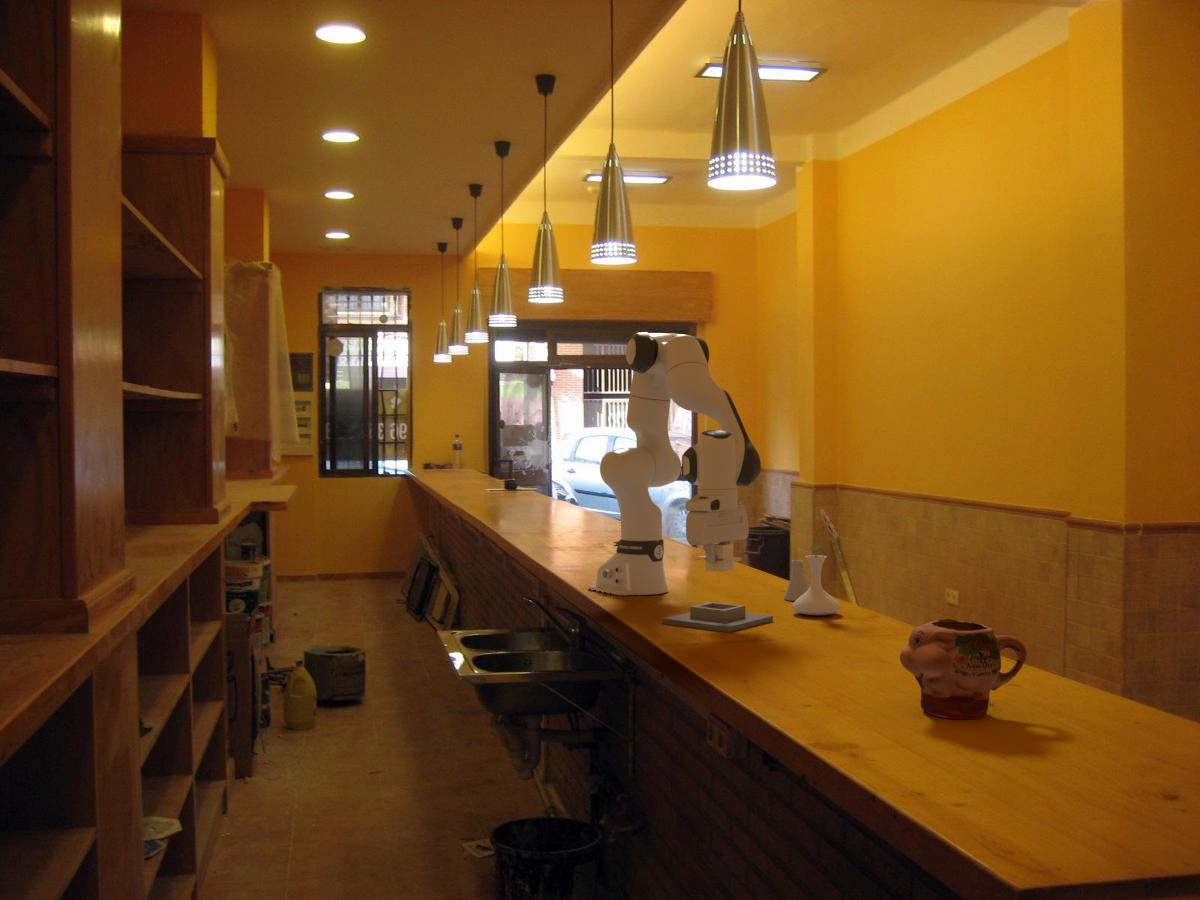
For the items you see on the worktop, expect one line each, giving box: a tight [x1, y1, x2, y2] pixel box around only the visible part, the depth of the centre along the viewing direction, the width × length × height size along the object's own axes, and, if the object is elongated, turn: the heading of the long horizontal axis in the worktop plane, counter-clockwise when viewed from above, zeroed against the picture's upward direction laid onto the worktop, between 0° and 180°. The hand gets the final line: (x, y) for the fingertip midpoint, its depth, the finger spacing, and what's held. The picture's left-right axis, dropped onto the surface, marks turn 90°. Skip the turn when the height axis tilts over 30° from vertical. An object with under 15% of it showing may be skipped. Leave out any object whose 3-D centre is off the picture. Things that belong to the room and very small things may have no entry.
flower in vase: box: [791, 508, 841, 616], centre depth 270 cm, size 13×11×25 cm
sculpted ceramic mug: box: [899, 618, 1027, 720], centre depth 179 cm, size 20×12×14 cm, turn 99°
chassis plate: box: [662, 601, 774, 634], centre depth 260 cm, size 18×18×4 cm
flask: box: [783, 559, 809, 602], centre depth 293 cm, size 7×7×10 cm
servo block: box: [696, 542, 743, 573], centre depth 260 cm, size 9×4×6 cm, turn 50°
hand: (719, 562), depth 260 cm, fingers closed on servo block, 4 cm apart
